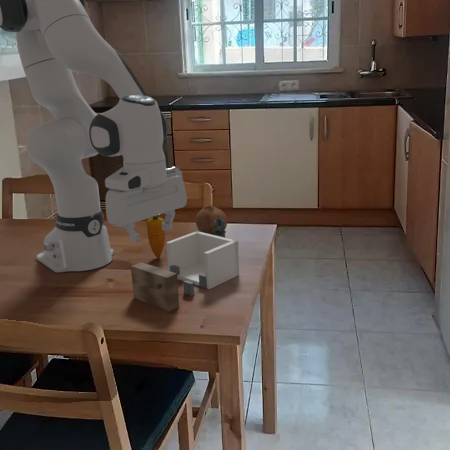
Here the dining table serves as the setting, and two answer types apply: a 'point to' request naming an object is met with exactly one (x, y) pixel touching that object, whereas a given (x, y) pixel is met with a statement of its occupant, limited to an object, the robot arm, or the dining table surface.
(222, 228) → the chess piece
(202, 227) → the onion
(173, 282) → the door
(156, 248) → the carrot
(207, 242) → the cabinet
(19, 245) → the dining table surface
